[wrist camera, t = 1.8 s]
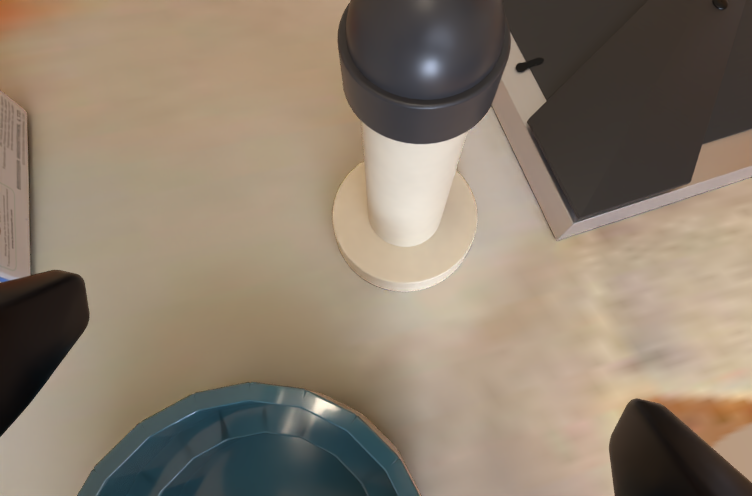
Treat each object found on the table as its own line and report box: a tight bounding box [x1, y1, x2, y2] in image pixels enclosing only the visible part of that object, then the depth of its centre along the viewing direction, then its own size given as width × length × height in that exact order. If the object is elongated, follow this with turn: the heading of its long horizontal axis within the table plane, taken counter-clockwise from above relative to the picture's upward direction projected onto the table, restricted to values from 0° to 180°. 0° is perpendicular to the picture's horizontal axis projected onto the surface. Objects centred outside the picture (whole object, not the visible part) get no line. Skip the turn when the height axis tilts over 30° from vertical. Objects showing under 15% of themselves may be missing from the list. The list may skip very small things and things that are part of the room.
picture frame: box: [492, 0, 752, 240], centre depth 24 cm, size 16×3×21 cm
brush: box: [332, 0, 511, 292], centre depth 16 cm, size 6×6×14 cm
